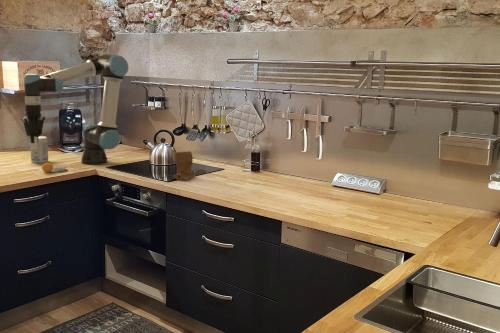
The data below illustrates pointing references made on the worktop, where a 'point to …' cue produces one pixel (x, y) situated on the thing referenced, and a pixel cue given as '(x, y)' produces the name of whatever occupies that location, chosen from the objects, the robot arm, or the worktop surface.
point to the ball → (47, 167)
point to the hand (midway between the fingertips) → (34, 148)
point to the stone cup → (184, 165)
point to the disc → (58, 170)
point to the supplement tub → (40, 151)
